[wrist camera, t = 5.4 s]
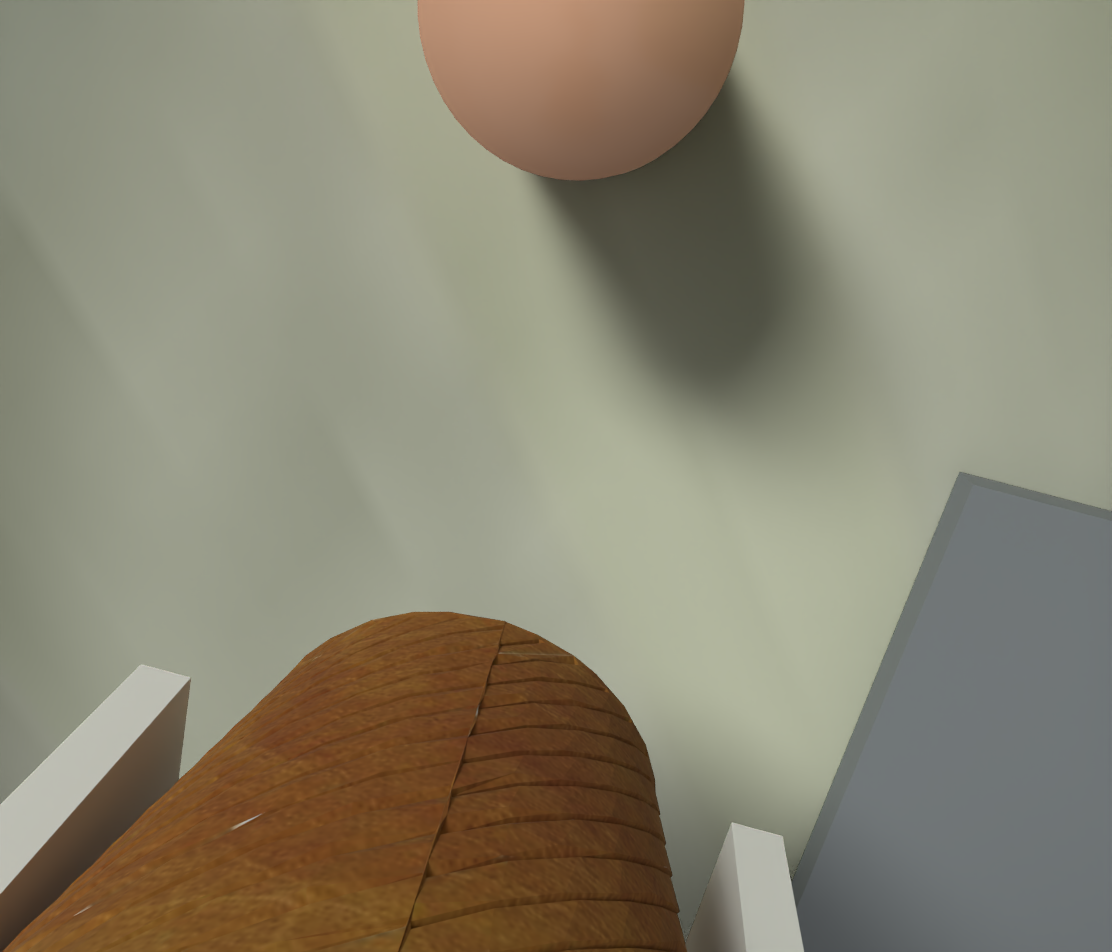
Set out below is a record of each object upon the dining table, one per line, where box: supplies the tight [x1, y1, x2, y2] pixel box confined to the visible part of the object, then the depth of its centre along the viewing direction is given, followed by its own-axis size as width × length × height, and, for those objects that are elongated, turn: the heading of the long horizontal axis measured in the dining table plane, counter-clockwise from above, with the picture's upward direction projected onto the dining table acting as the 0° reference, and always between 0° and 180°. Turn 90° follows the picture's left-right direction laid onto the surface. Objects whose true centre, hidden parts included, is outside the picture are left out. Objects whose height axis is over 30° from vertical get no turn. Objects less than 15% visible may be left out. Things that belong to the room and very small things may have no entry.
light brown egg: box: [418, 0, 744, 181], centre depth 18 cm, size 5×5×7 cm
